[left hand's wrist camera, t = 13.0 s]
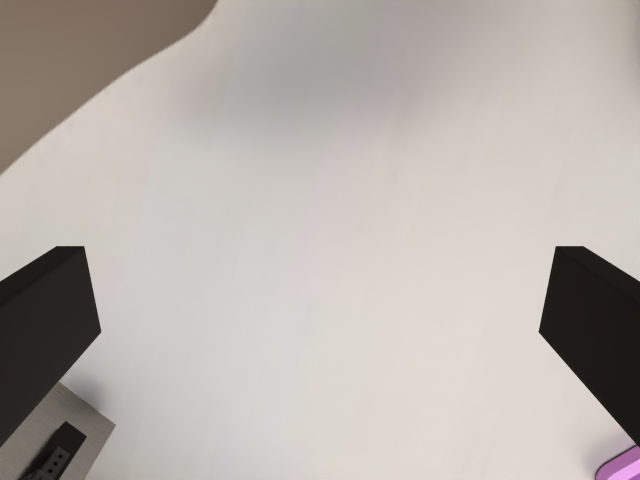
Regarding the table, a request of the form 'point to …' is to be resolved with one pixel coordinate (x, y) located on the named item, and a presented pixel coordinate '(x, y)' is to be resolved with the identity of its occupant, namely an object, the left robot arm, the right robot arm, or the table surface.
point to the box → (42, 423)
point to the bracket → (622, 467)
